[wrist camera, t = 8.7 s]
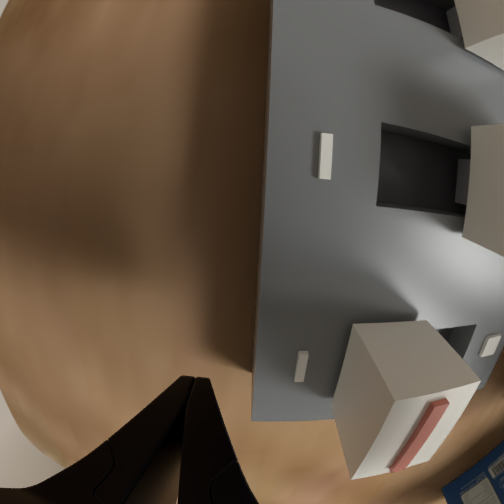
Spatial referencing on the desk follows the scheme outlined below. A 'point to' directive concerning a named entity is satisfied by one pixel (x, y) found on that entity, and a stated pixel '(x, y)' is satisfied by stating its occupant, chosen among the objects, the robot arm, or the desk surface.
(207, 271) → the desk surface
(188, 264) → the desk surface
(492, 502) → the protein box
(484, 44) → the slider
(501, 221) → the slider
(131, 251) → the desk surface
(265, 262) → the switch box
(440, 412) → the slider
